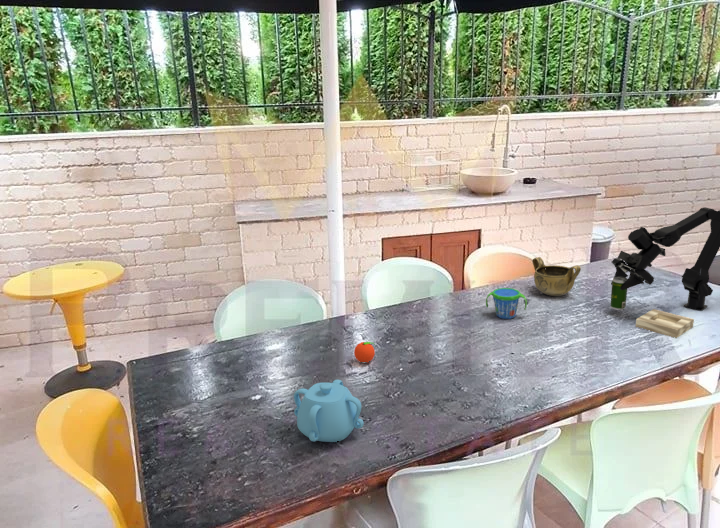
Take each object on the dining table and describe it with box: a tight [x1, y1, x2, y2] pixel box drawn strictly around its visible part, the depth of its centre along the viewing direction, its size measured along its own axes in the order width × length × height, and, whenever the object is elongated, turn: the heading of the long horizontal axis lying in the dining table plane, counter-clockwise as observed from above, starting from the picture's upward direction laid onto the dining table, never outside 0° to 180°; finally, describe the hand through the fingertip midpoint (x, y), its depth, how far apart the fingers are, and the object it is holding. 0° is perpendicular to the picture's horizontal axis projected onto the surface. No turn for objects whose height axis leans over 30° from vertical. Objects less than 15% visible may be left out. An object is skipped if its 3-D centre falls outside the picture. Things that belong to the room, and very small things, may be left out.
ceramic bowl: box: [532, 256, 582, 297], centre depth 226 cm, size 22×17×15 cm
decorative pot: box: [293, 379, 365, 443], centre depth 136 cm, size 16×16×14 cm
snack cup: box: [485, 287, 528, 320], centre depth 205 cm, size 16×10×10 cm
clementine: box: [353, 341, 376, 363], centre depth 174 cm, size 8×7×7 cm
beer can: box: [609, 276, 628, 311], centre depth 200 cm, size 5×5×12 cm
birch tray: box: [635, 308, 695, 339], centre depth 190 cm, size 14×14×4 cm
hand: (616, 287), depth 199 cm, fingers closed on beer can, 5 cm apart
